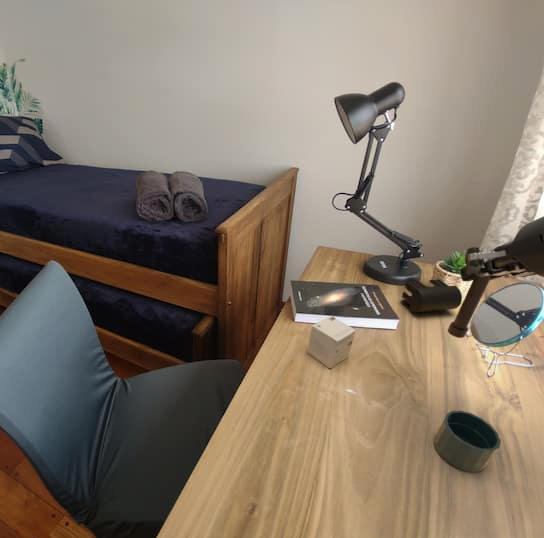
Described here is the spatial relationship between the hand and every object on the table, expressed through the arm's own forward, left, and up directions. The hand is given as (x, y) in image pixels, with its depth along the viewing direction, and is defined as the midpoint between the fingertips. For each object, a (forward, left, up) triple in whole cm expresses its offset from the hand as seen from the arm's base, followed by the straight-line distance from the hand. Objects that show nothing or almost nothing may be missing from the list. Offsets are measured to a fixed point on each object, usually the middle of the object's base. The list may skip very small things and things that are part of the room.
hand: (471, 275), depth 56 cm
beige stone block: (+15, -8, -24) cm, 30 cm away
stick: (0, +2, -10) cm, 10 cm away
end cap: (-15, -23, -24) cm, 37 cm away
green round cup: (+2, +14, -24) cm, 28 cm away
